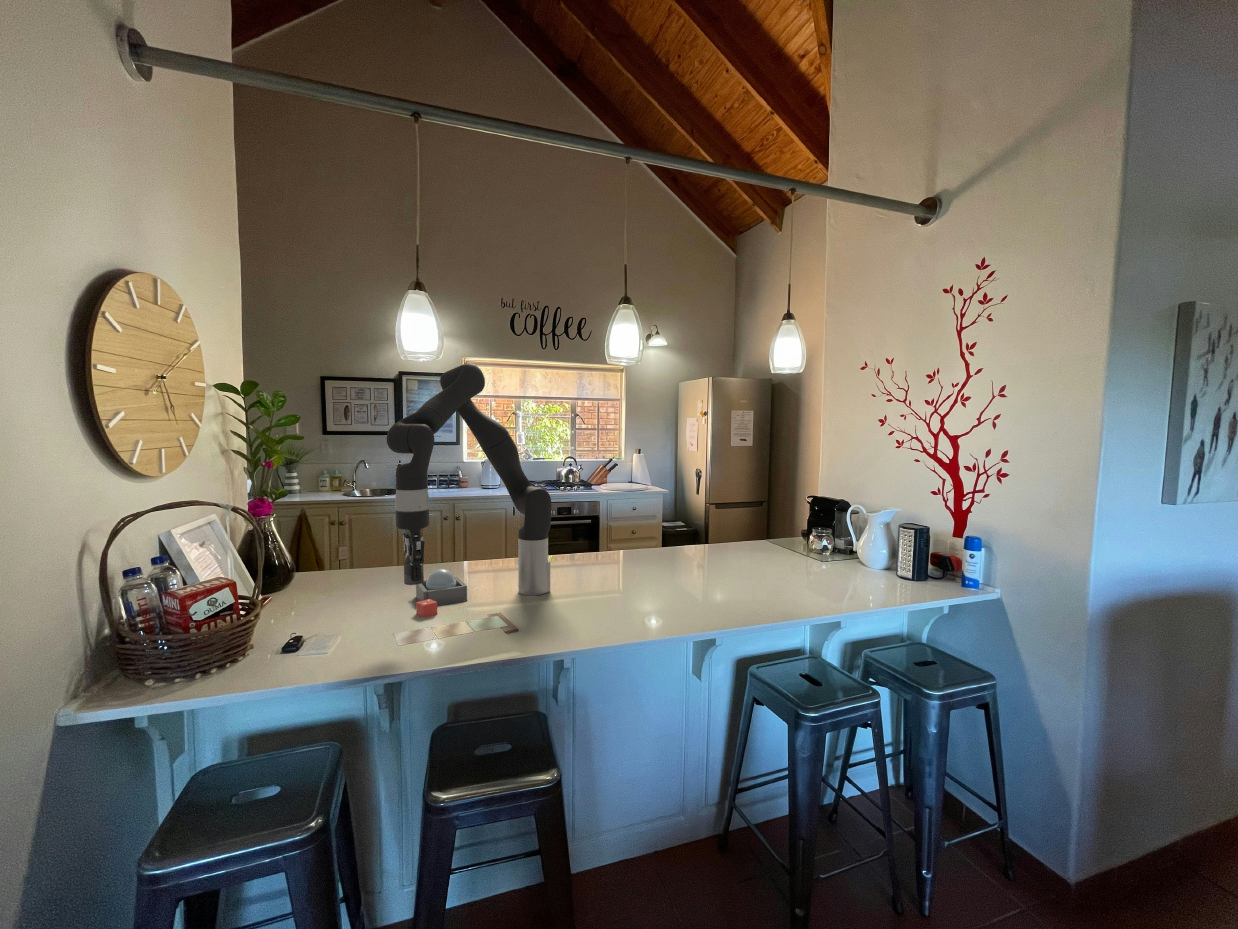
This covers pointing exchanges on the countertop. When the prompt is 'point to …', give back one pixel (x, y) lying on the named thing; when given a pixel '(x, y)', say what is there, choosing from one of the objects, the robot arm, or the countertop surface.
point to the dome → (440, 580)
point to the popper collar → (443, 593)
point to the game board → (456, 629)
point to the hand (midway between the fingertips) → (414, 577)
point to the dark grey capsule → (408, 573)
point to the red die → (426, 608)
